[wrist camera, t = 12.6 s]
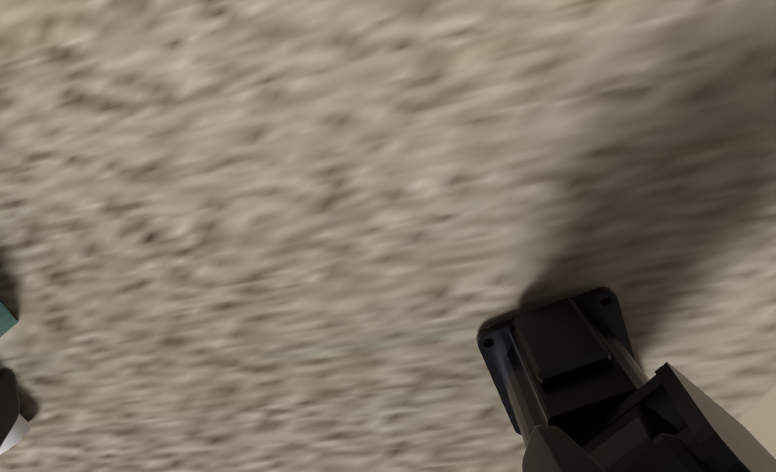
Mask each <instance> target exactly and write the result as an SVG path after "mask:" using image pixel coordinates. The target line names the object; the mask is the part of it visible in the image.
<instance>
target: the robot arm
mask: <svg viewBox="0 0 776 472" xmlns="http://www.w3.org/2000/svg"><path fill="white" fill-rule="evenodd" d="M604 296H608V297H607V299H606V300H604V301H600V300H601V298H602V297H604ZM489 338H490V339H492V340H491V341H490V342H488V343H485V342H484V340H486V339H489ZM476 339H477V343H478V347H479V349H480V351H481V354H482V356H483V358H484V361H485V363H486V365H487V367H488V370H489V372H490V374H491V377H492V379H493V381H494V384H495V386H496V388H497V390H498V393H499V395H500V397H501V400H502V402H503V404H504V407H505V409H506V411H507V413H508V416H509V418H510V420H511V423H512V425H513V427H514V430H515V431H516V433H518V434H521V435H522V437H523V440H524V443H525V446H526V451H525V454H524V457H523V464H522V470H523V472H776V459H775V458H774V457H773V456H772V455H771V454H770V453H769V452H768V451H767V450H766V449H765V448H764V447H763V446H762V445H761V444H760V443H759V442H758V441H757V440H756V439H755V438H754V436H753V435H752V434H750V432H749V431H748V430H747V429H746V428H745V427H744V426H743V425H741V424H740V423H739V422H738V421H737V420H736V419H734V418H733V417H732V416H731V415H730V414H728V413H727V412H726V411H725V410H724V409H722V408H721V407H720V406H719V405H718V404H717V403H715V402H714V401H713V400H712V399H711V398H709V397H708V396H707V395H706V394H705V393H704V392H702V391H701V390H700V389H699V388H698V387H696V386H695V385H694V384H693V383H692V382H690V381H689V380H688V379H687V378H686V377H685V376H683V375H682V374H681V373H680V372H679V371H677V370H676V369H675V368H674V367H673V366H671V365H670V364H669V363H668V362H666V363H665V364H664V365H663V366H661V367H660V368H659V369H658V370H656V371H655V373H656V375H655V376H654V377H653V378H652V379H650V380H649V379H648V377H647V376H646V375H645V373H644V372H643V371H642V369H641V368H640V367H639V365H638V364H637V363H636V362H635V358H634V355H633V351H632V348H631V345H630V341H629V338H628V334H627V331H626V327H625V324H624V320H623V317H622V313H621V310H620V307H619V303H618V300H617V297H616V295H615V293H614V292H613V291H612V290H611V289H610V288H608V287H600V288H597V289H594V290H591V291H589V292H586V293H583V294H580V295H578V296H575V297H572V298H569V299H564V300H561V301H559V302H556V303H553V304H550V305H548V306H545V307H542V308H539V309H537V310H534V311H531V312H528V313H526V314H523V315H520V316H517V317H516V318H515V319H512V320H509V321H506V322H504V323H501V324H498V325H495V326H493V327H490V328H487V329H484V330H482V331H481V332H479V334H478V335H477V338H476ZM19 412H20V402H19V396H18V390H17V384H16V378H15V374H14V372H13V371H12V370H11V369H9V368H6V367H0V447H1V445H2V444H3V442H4V440H5V439H6V437H7V436H8V434H9V432H10V431H11V429H12V427H13V426H14V424H15V422H16V421H17V418H18V416H19Z"/></svg>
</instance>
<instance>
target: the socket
mask: <svg viewBox="0 0 776 472" xmlns="http://www.w3.org/2000/svg"><path fill="white" fill-rule="evenodd" d="M16 323H18V321H17V320H16V319H15V318H14V317H13V316H12V314H11V313H10V312H9V311H8V310H7V308H6V307H5V306H4V305H3V304H2V303H1V301H0V337H1V336H2V335H3V334H4V333H5V332H7V331H8V330H9V329H10V328H12V327H13V326H14V325H15V324H16ZM30 427H31V425H30V424H29V423H28V422H27V421H26V420H25V419H24V418H23V416H22V415H21V414H20V413H19V416H18V418H17V421H16V422H15V424H14V426H13V427H12V429H11V431H10V432H9V434H8V436H7V437H6V439H5V440H4V442H3V444H2V445H1V447H0V454H2V453H3V452H5V451H6V450H8V449H9V448H11V447H12V446H14V445H15V444H16V443H17V442H18V441H20V440H21V439H22V438H23V437H24V436H25V435H26V433H27V432H28V431H29V429H30Z"/></svg>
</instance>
